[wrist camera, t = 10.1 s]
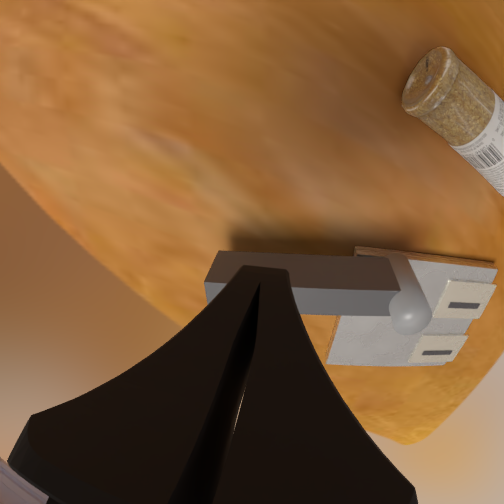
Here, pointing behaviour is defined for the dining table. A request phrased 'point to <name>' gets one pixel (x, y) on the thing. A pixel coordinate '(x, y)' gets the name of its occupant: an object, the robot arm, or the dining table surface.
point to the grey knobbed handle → (338, 285)
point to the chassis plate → (440, 327)
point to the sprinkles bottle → (459, 111)
